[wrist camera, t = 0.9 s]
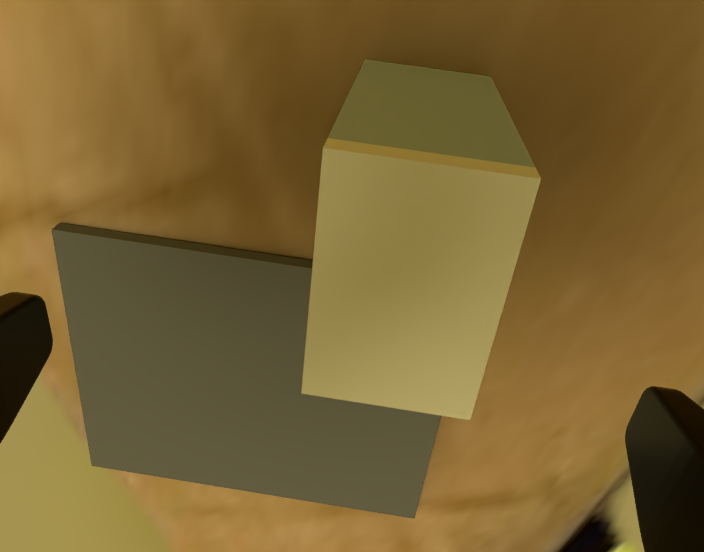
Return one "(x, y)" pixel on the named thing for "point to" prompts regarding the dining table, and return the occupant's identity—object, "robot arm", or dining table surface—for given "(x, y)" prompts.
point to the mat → (222, 376)
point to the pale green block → (415, 239)
